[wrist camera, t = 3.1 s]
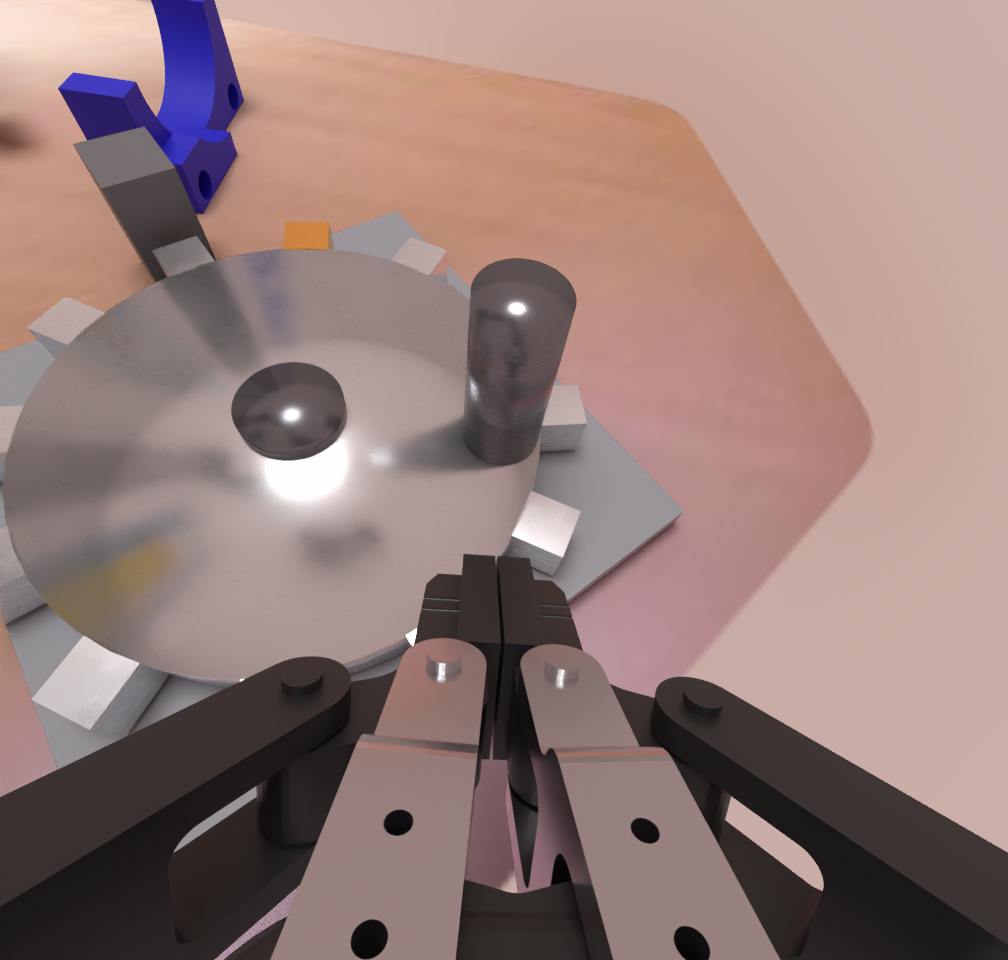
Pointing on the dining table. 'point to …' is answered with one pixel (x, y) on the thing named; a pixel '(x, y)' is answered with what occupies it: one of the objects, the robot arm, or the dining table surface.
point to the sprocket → (277, 461)
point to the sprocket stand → (171, 218)
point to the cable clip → (174, 99)
